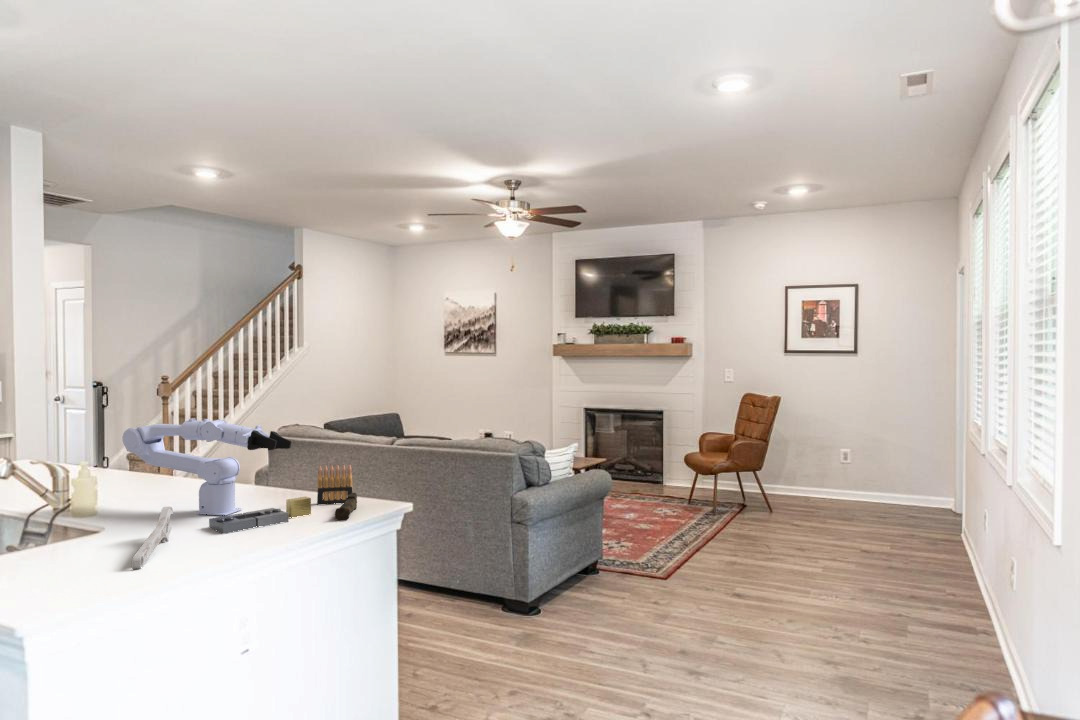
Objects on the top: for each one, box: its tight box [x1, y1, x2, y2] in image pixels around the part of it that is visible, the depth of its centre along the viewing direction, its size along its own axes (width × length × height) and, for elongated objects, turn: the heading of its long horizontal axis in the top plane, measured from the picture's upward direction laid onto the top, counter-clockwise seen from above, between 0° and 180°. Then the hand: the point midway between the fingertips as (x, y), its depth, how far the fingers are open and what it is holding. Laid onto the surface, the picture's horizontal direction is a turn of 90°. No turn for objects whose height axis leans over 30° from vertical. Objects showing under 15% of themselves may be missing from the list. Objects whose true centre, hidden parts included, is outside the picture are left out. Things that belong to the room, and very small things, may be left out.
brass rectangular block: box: [285, 496, 312, 519], centre depth 216 cm, size 6×3×5 cm, turn 136°
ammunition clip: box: [316, 463, 354, 505], centre depth 232 cm, size 11×2×12 cm, turn 102°
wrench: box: [131, 506, 174, 570], centre depth 180 cm, size 8×2×30 cm
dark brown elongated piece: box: [334, 492, 358, 522], centre depth 219 cm, size 19×4×5 cm, turn 1°
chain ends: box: [208, 507, 289, 534], centre depth 205 cm, size 18×9×3 cm, turn 136°
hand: (283, 444), depth 215 cm, fingers open, 7 cm apart
